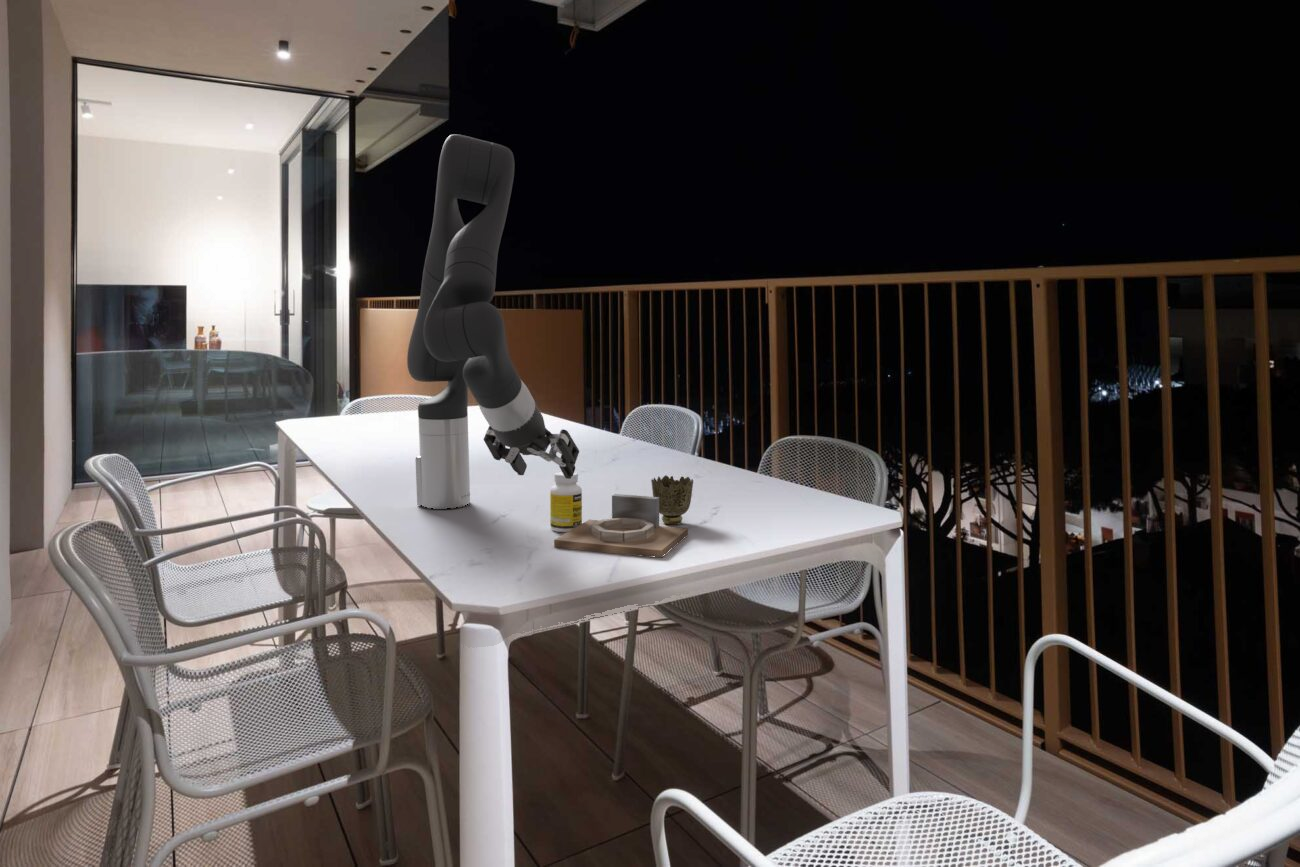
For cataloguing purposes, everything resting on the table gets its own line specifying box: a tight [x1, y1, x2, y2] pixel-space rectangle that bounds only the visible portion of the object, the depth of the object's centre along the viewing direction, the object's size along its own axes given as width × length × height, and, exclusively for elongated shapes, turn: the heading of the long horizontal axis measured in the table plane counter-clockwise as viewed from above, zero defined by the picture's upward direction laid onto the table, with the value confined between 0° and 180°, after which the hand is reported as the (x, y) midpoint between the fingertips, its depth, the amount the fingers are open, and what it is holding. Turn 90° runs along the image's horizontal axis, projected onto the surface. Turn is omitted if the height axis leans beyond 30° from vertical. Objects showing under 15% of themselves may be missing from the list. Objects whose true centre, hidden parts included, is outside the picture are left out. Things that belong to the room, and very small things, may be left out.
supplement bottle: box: [549, 471, 583, 533], centre depth 140 cm, size 5×5×10 cm
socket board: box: [553, 493, 689, 558], centre depth 133 cm, size 18×14×6 cm
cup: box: [650, 474, 694, 526], centre depth 145 cm, size 8×7×8 cm
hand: (546, 472), depth 133 cm, fingers open, 8 cm apart
